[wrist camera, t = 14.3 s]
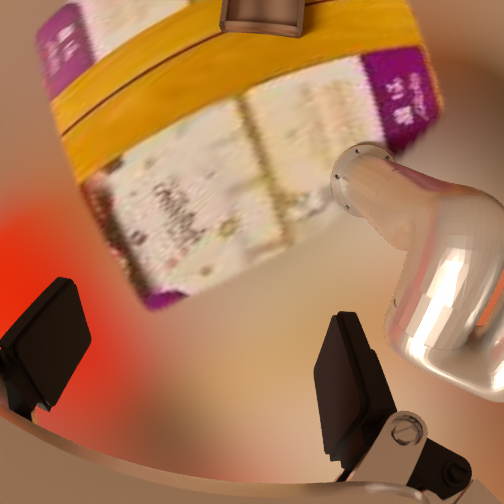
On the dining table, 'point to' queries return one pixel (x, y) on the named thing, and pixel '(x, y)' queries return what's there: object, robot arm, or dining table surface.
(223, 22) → the caddy
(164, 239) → the dining table surface
